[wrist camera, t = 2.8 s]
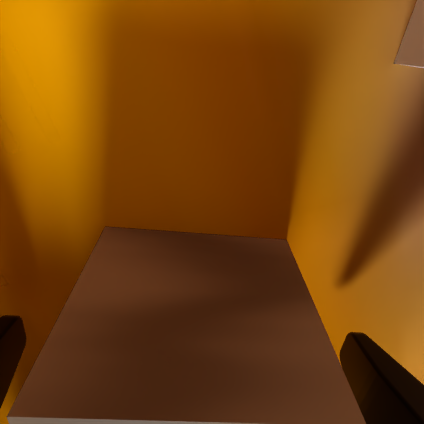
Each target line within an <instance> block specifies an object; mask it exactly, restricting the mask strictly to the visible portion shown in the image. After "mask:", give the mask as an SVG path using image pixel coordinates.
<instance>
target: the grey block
mask: <svg viewBox="0 0 424 424" xmlns="http://www.w3.org/2000/svg"><path fill="white" fill-rule="evenodd" d="M394 64H400V65H407V66H413V67H419V68H424V0H417V2H416V4H415V7H414V10H413V12H412V15H411V18H410V21H409V23H408V26H407V29H406V31H405V34H404V37H403V40H402V42H401V45H400V48H399V51H398V53H397V56H396V59H395V61H394Z"/></svg>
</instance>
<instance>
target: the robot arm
mask: <svg viewBox="0 0 424 424" xmlns="http://www.w3.org/2000/svg"><path fill="white" fill-rule="evenodd" d="M25 345H26V333H25V329H24V325H23V321H22V318H21V317H20V316H13V315H4V316H2V317H0V408H1V406H2V404H3V401H4V399H5V396H6V394H7V391H8V389H9V386H10V384H11V381H12V379H13V376H14V373H15V371H16V368H17V366H18V363H19V361H20V358H21V355H22V353H23V350H24V348H25ZM340 361H341V365H342V369H343V371H344V374H345V376H346V378H347V381H348V383H349V385H350V388H351V390H352V392H353V395H354V397H355V399H356V401H357V404H358V406H359V408H360V411H361V413H362V415H363V418H364V420H365V422H366V424H424V385H423V384H422V383H421V382H420V381H419V380H417V379H416V378H415V377H414V376H413V375H412V374H411V373H409V372H408V371H407V370H406V369H405V368H404V367H403V366H401V365H400V364H399V363H398V362H397V361H396V360H394V359H393V358H392V357H391V356H390V355H389V354H388V353H386V352H385V351H384V350H383V349H382V348H381V347H380V346H378V345H377V344H376V343H375V342H374V341H373V340H372V339H370V338H369V337H368V336H367V335H366V334H364V333H358V332H350V333H348V334H347V336H346V339H345V341H344V343H343V345H342V348H341V350H340Z"/></svg>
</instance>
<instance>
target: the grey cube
mask: <svg viewBox="0 0 424 424" xmlns="http://www.w3.org/2000/svg"><path fill="white" fill-rule="evenodd" d="M7 419H8V422H9V424H366V422H365V420H364V418H363V415H362V413H361V411H360V408H359V406H358V404H357V401H356V399H355V397H354V395H353V392H352V390H351V388H350V385H349V383H348V381H347V378H346V376H345V374H344V371H343V369H342V367H341V364H340V362H339V360H338V358H337V355H336V353H335V351H334V348H333V346H332V344H331V341H330V339H329V337H328V334H327V332H326V330H325V328H324V325H323V323H322V321H321V318H320V316H319V314H318V311H317V309H316V307H315V304H314V302H313V300H312V297H311V295H310V293H309V291H308V288H307V286H306V284H305V281H304V279H303V277H302V274H301V272H300V270H299V267H298V265H297V263H296V261H295V258H294V256H293V254H292V251H291V249H290V247H289V244H288V242H287V240H284V239H271V238H257V237H243V236H229V235H215V234H202V233H188V232H174V231H160V230H146V229H132V228H119V227H105V228H104V230H103V232H102V234H101V236H100V238H99V240H98V242H97V244H96V245H95V247H94V249H93V251H92V253H91V255H90V257H89V259H88V261H87V263H86V265H85V267H84V269H83V271H82V273H81V274H80V276H79V278H78V280H77V282H76V284H75V286H74V288H73V290H72V292H71V294H70V296H69V298H68V300H67V301H66V303H65V305H64V307H63V309H62V311H61V313H60V315H59V317H58V319H57V321H56V323H55V325H54V327H53V329H52V330H51V332H50V334H49V336H48V338H47V340H46V342H45V344H44V346H43V348H42V350H41V352H40V354H39V356H38V358H37V359H36V361H35V363H34V365H33V367H32V369H31V371H30V373H29V375H28V377H27V379H26V381H25V383H24V385H23V387H22V388H21V390H20V392H19V394H18V396H17V398H16V400H15V402H14V404H13V406H12V408H11V410H10V412H9V414H8V416H7Z"/></svg>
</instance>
